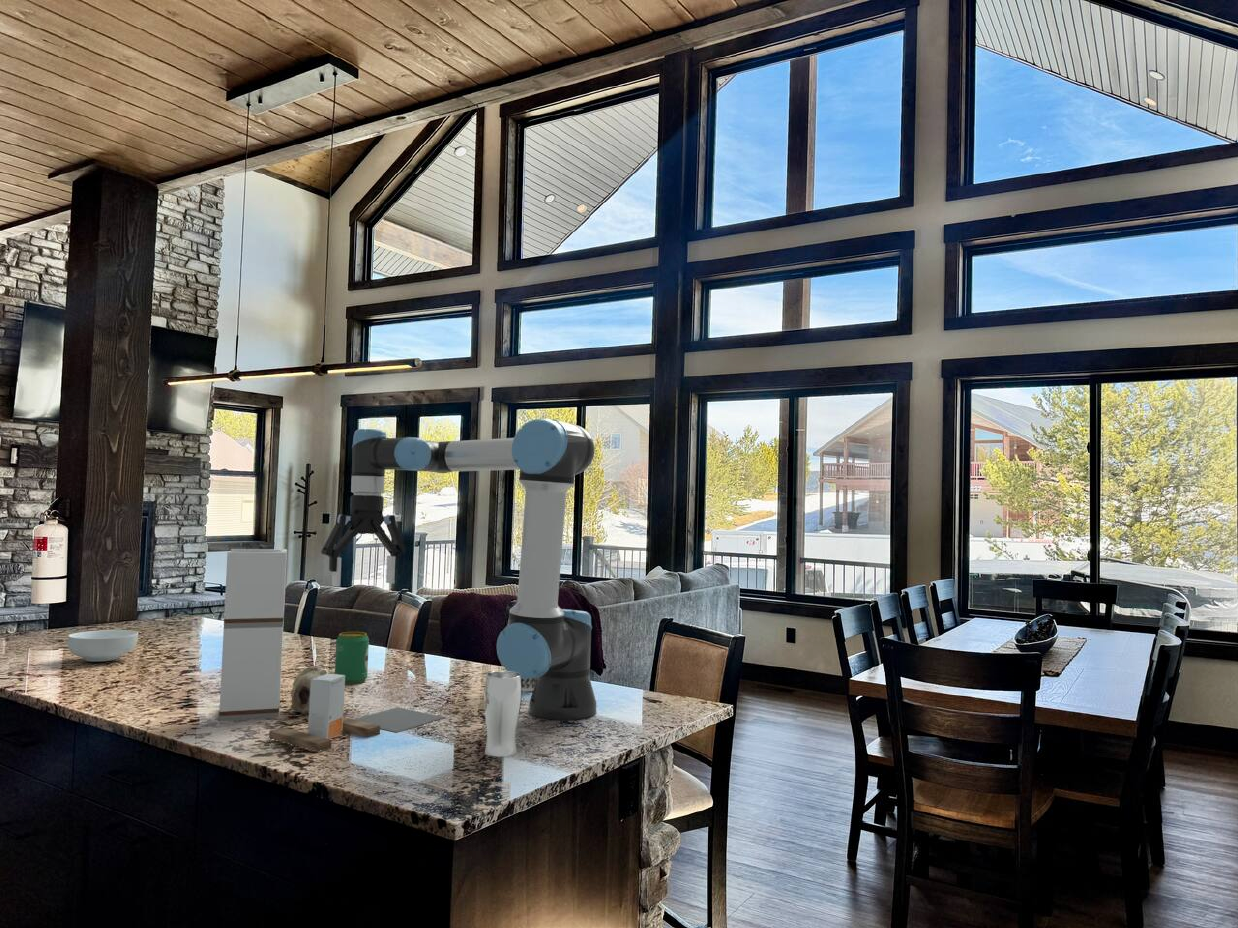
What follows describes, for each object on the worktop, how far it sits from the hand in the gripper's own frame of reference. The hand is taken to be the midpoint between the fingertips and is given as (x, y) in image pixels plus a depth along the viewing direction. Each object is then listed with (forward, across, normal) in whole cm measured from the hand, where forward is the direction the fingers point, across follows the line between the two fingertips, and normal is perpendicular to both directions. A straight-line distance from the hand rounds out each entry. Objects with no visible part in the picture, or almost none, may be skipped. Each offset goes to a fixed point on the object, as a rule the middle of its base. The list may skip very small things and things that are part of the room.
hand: (363, 584), depth 194 cm
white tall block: (+27, +24, -2) cm, 36 cm away
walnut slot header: (+27, +20, +25) cm, 42 cm away
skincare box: (+27, +20, +26) cm, 42 cm away
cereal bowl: (+27, +35, -83) cm, 94 cm away
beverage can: (+27, -7, -18) cm, 33 cm away
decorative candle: (+27, -38, +14) cm, 49 cm away
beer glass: (+27, -1, +55) cm, 61 cm away
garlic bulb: (+27, +14, +5) cm, 31 cm away
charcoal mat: (+27, +3, +23) cm, 35 cm away
